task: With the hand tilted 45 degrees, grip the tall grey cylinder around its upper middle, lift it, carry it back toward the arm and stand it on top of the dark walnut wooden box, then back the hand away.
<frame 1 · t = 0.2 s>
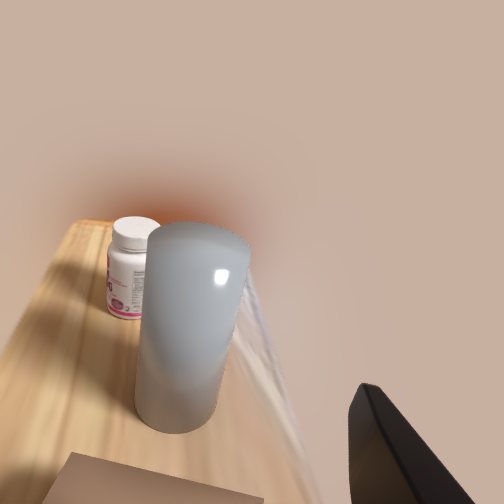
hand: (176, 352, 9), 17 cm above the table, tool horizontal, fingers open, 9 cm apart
pill bottle: (132, 306, 36), on the table
grey cylinder: (176, 397, 28), on the table
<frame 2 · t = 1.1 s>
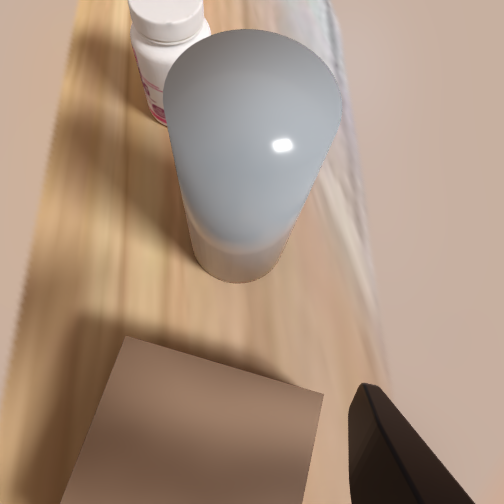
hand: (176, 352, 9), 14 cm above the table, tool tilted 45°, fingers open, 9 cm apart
walnut box: (196, 461, 20), on the table
pill bottle: (181, 106, 28), on the table
grey cylinder: (237, 238, 25), on the table
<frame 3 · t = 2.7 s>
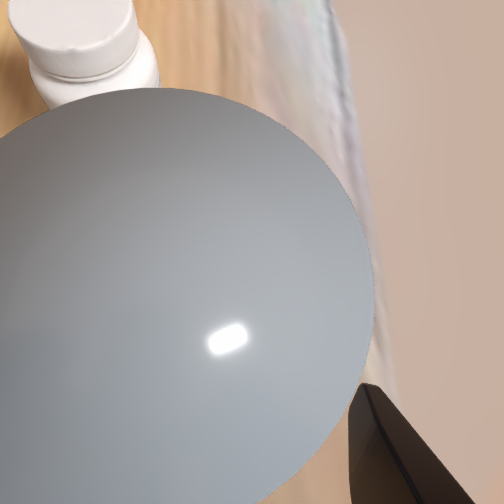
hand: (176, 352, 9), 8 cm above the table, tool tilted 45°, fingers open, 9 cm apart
pill bottle: (130, 153, 21), on the table
grey cylinder: (201, 354, 17), on the table
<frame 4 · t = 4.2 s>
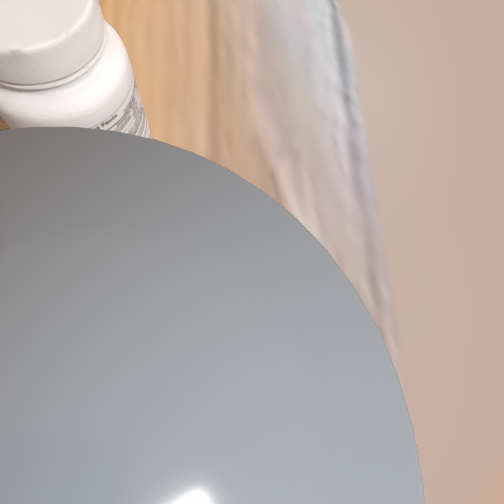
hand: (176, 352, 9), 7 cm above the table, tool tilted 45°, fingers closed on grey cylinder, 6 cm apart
pill bottle: (108, 165, 18), on the table
grey cylinder: (186, 401, 15), on the table, touching gripper
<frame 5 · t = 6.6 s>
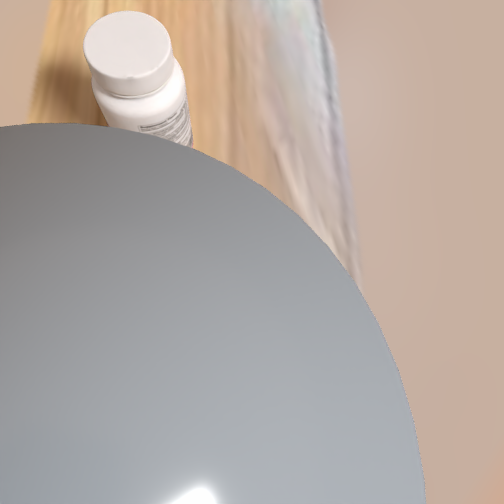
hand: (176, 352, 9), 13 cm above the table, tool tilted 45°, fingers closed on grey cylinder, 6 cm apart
pill bottle: (158, 147, 26), on the table
grey cylinder: (186, 400, 15), point 6 cm above the table, touching gripper
when the fingers open (11 cm above the table, at t = 9.0 s): grey cylinder stays where it is, resting on walnut box.
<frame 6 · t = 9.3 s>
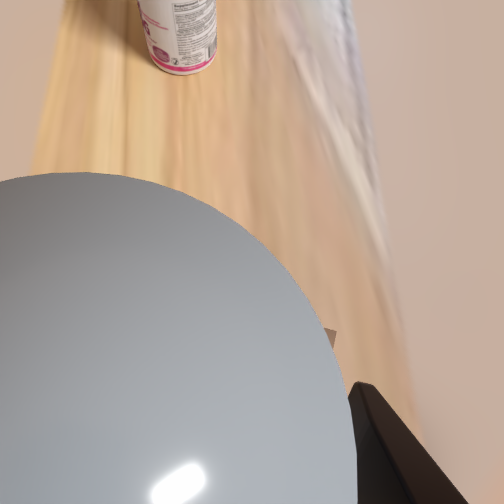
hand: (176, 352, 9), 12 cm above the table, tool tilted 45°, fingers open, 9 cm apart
pill bottle: (183, 53, 27), on the table
grey cylinder: (186, 401, 16), point 4 cm above the table, touching walnut box
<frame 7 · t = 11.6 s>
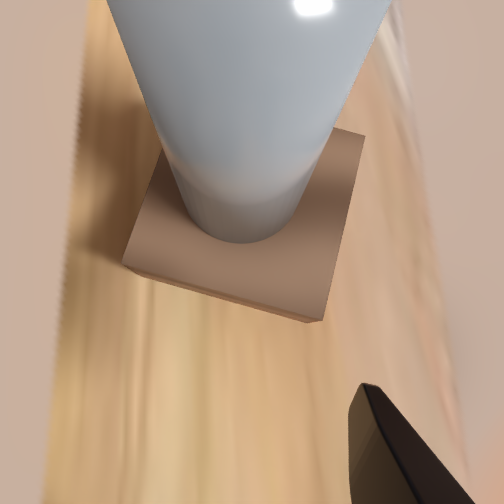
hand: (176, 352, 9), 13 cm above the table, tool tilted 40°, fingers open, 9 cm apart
walnut box: (247, 220, 23), on the table
grey cylinder: (241, 186, 19), point 4 cm above the table, touching walnut box
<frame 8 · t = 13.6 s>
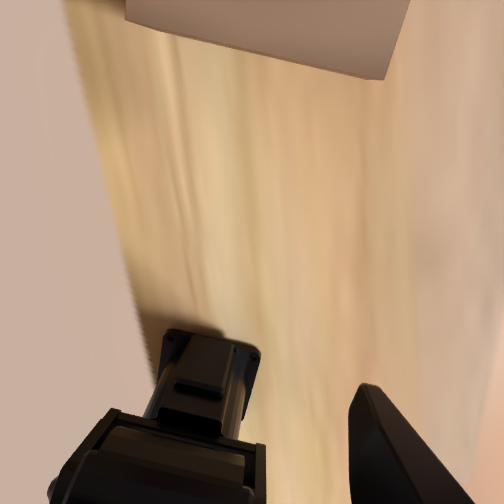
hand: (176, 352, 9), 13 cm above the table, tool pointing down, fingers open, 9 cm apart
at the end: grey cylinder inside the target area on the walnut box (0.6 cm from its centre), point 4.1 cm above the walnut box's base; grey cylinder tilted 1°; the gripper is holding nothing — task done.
